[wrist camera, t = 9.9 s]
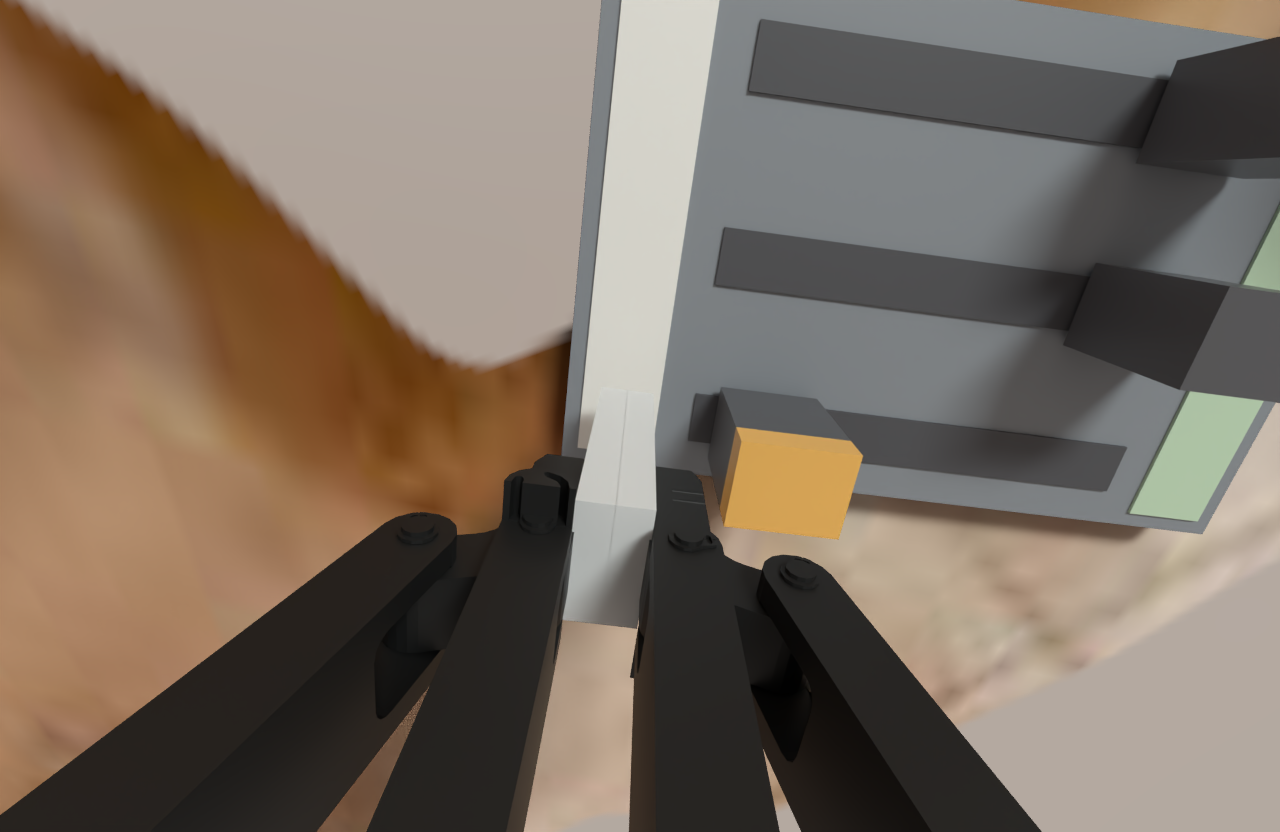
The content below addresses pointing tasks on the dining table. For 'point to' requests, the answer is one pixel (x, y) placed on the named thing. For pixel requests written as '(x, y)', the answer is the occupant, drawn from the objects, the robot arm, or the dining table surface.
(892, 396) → the panel
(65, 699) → the dining table surface
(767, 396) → the breaker
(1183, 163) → the block
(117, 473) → the dining table surface
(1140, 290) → the breaker
